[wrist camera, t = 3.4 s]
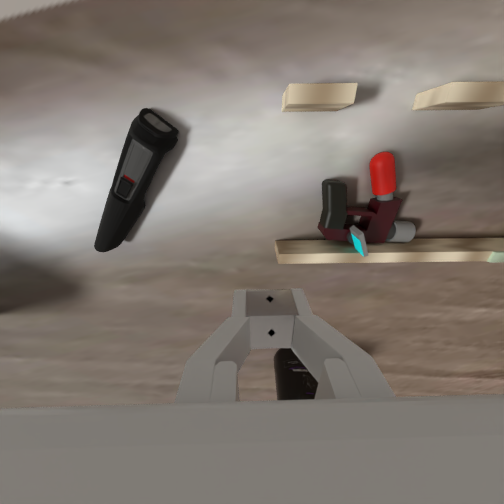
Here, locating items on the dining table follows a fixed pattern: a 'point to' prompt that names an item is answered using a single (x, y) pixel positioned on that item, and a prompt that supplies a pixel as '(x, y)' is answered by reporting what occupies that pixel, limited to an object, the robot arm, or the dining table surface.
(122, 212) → the electric trimmer
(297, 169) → the dining table surface
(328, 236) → the toy gun
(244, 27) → the dining table surface
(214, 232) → the dining table surface
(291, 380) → the supplement bottle
